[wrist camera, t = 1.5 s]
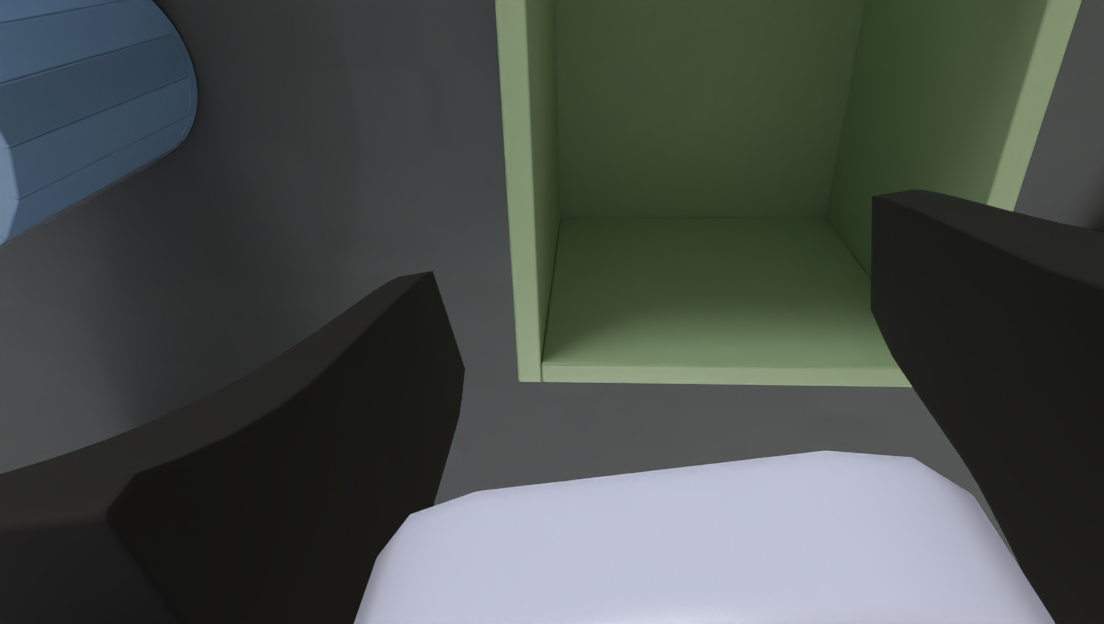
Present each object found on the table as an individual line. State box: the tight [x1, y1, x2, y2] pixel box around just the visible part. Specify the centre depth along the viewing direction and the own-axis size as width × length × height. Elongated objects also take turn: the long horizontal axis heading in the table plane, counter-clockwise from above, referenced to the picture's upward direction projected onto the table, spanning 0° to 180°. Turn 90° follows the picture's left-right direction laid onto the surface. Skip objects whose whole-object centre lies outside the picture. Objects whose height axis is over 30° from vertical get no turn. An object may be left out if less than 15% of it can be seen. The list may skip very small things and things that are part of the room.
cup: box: [0, 0, 198, 251], centre depth 17 cm, size 6×6×8 cm
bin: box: [495, 0, 1082, 387], centre depth 15 cm, size 9×11×8 cm
